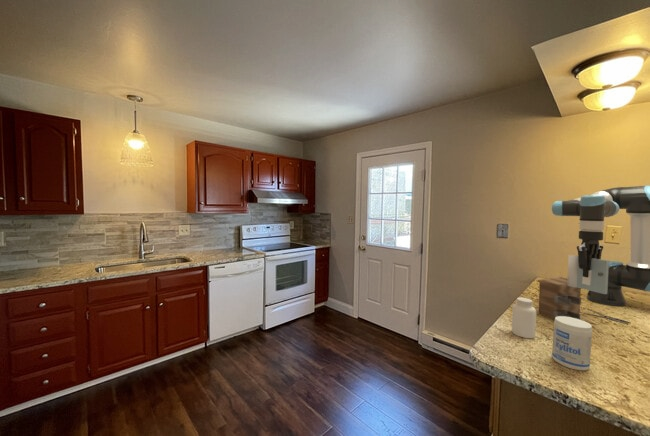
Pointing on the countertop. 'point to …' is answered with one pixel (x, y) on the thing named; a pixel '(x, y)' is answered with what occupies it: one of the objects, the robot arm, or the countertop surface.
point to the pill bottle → (524, 318)
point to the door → (597, 277)
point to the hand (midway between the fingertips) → (588, 284)
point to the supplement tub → (572, 342)
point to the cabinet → (558, 298)
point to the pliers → (607, 317)
